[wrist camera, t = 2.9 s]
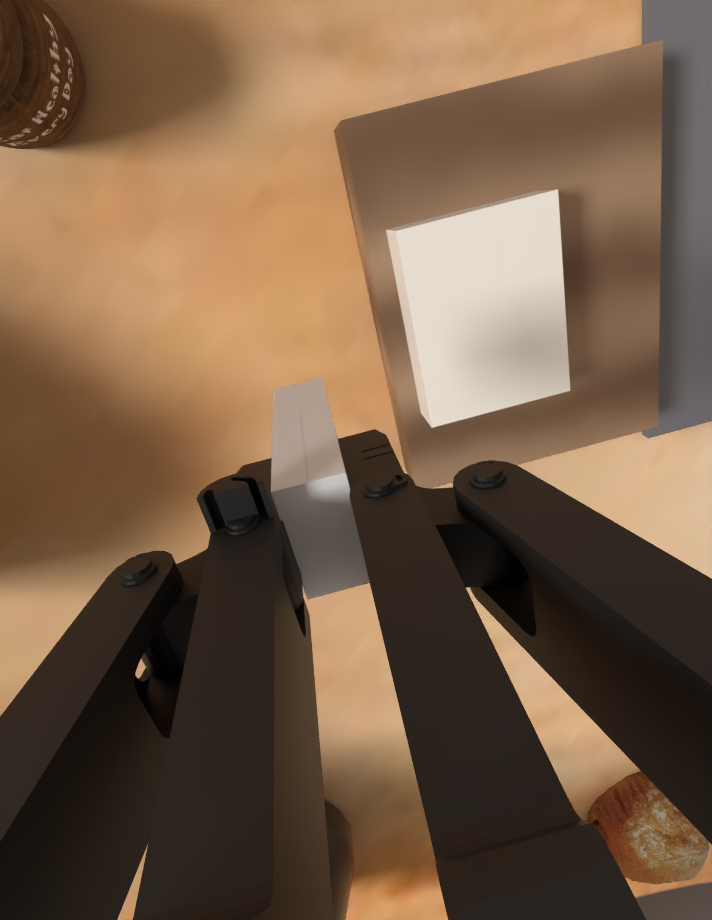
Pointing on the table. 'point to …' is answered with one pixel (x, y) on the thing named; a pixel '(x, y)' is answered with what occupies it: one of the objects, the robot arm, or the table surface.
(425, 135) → the board
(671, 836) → the bread roll
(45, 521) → the table surface
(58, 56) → the utensil holder
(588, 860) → the robot arm
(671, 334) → the mat
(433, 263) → the slab
